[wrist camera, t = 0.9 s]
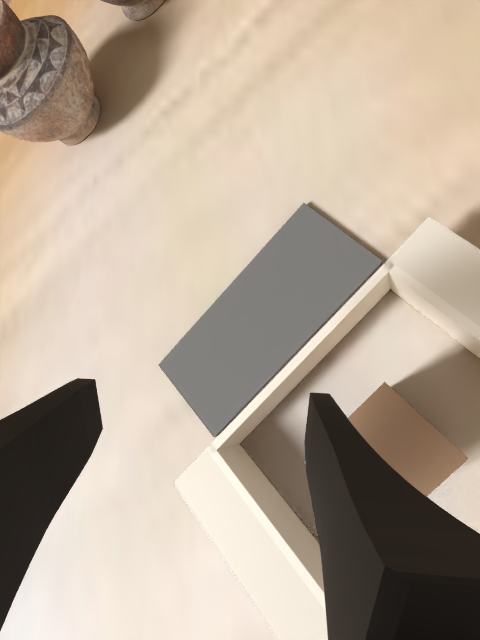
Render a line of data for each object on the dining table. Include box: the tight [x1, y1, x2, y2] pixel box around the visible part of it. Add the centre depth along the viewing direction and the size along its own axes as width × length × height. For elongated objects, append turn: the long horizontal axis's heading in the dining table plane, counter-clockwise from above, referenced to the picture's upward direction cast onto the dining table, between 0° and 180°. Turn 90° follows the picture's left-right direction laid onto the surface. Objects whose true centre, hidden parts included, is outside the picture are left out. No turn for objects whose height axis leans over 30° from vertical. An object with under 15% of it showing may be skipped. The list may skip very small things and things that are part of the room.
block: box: [303, 382, 469, 497], centre depth 18 cm, size 4×5×7 cm
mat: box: [159, 203, 383, 437], centre depth 26 cm, size 7×16×1 cm, turn 133°
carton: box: [173, 217, 480, 640], centre depth 20 cm, size 13×21×4 cm, turn 133°
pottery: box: [0, 0, 164, 145], centre depth 33 cm, size 11×25×12 cm, turn 148°
